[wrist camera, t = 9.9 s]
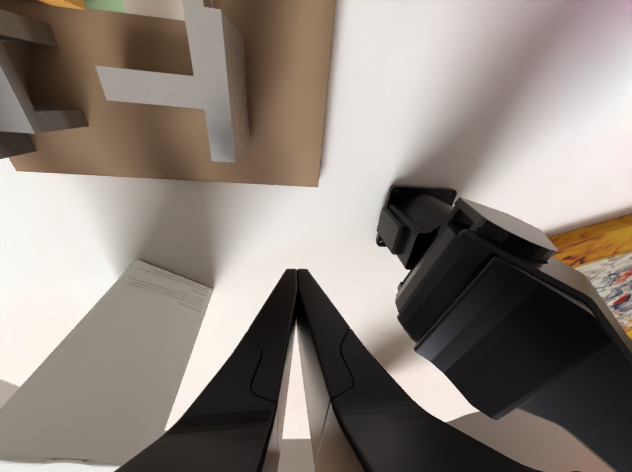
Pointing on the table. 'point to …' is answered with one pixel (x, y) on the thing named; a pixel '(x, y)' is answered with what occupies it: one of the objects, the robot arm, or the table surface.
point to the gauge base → (158, 120)
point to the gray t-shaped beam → (198, 81)
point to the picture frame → (603, 262)
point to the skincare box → (107, 378)
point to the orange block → (66, 3)
